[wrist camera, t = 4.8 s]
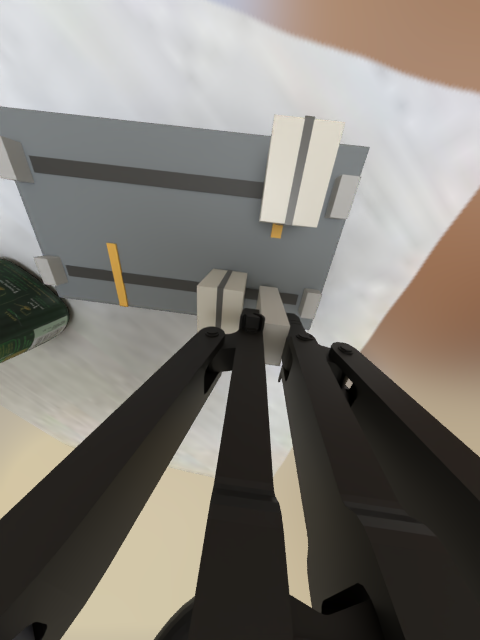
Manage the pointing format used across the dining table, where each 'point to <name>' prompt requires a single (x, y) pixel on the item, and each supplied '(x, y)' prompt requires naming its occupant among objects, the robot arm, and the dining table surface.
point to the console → (164, 211)
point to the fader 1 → (221, 300)
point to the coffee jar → (26, 312)
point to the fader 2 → (299, 169)
